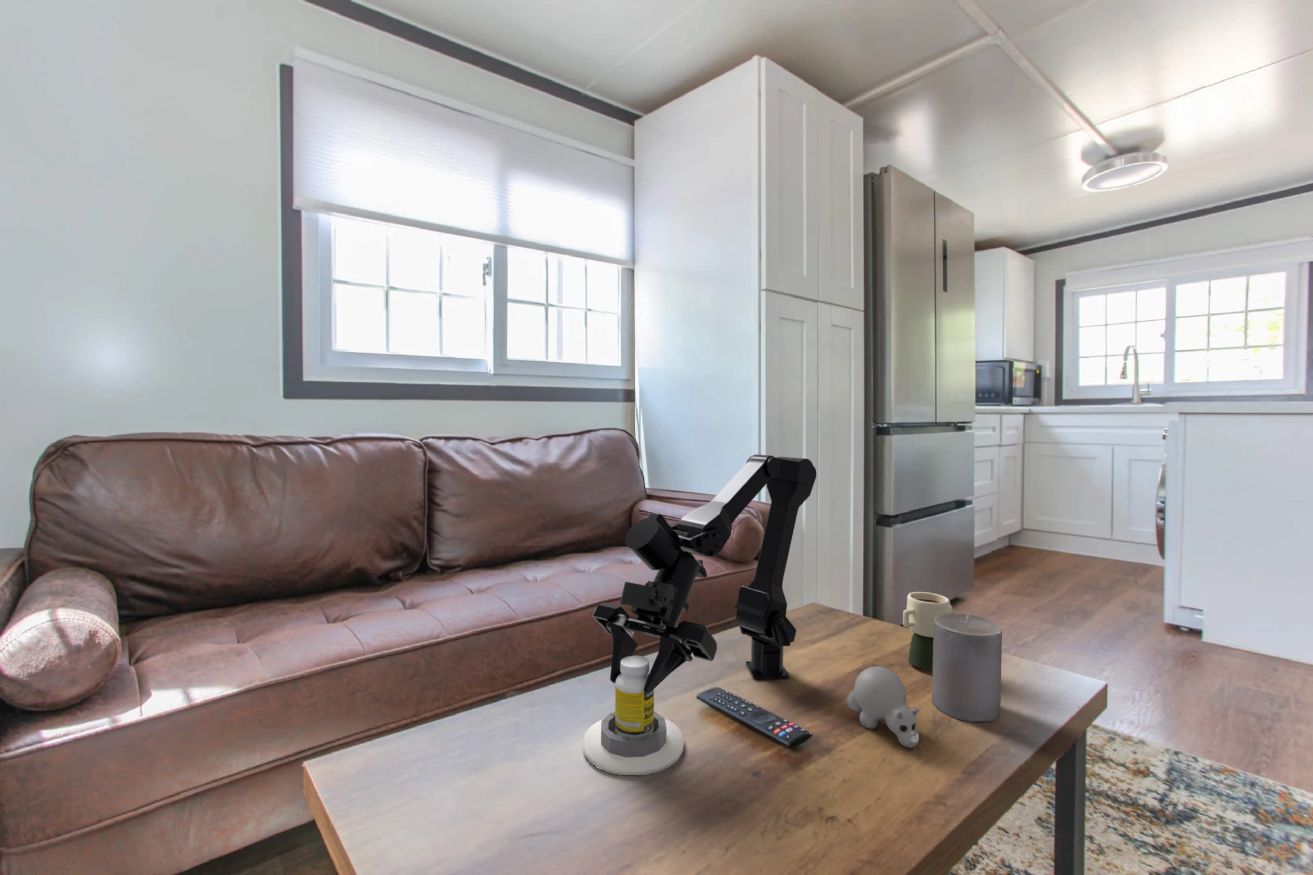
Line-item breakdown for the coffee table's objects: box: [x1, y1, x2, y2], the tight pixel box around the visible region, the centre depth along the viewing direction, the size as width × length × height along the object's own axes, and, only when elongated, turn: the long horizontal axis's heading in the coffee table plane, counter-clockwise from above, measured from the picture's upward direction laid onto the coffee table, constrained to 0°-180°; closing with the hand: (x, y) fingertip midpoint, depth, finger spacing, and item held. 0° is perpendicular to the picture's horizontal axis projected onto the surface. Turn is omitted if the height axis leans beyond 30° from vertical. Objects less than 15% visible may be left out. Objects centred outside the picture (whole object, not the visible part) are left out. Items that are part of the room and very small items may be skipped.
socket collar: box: [582, 711, 685, 776], centre depth 83 cm, size 14×14×3 cm
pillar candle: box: [931, 612, 1003, 723], centre depth 94 cm, size 10×10×15 cm
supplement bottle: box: [614, 655, 655, 738], centre depth 82 cm, size 5×5×10 cm
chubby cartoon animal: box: [846, 665, 920, 749], centre depth 86 cm, size 7×12×8 cm, turn 17°
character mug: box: [902, 591, 953, 672], centre depth 109 cm, size 11×7×13 cm, turn 109°
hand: (628, 687), depth 81 cm, fingers closed on supplement bottle, 5 cm apart
